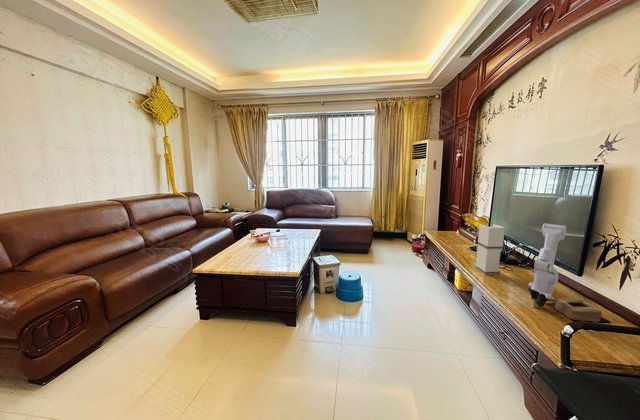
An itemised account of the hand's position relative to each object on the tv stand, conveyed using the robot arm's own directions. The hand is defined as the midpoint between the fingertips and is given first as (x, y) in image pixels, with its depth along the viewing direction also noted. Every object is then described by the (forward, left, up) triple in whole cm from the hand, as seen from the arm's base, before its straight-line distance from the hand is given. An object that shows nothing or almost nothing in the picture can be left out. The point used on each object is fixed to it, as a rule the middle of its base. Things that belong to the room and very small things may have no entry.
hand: (537, 303), depth 141 cm
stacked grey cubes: (-47, -4, -2) cm, 47 cm away
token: (0, 0, -2) cm, 2 cm away
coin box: (+7, +14, -1) cm, 16 cm away
